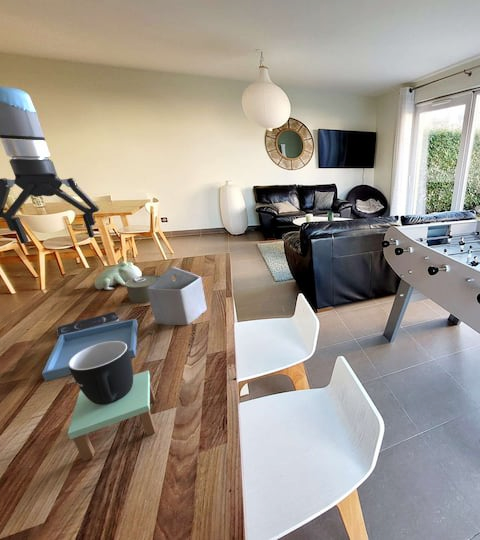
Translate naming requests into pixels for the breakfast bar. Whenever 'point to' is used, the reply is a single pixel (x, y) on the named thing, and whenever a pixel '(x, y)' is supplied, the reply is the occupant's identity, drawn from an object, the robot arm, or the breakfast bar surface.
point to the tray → (88, 345)
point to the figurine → (117, 275)
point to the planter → (177, 297)
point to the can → (140, 288)
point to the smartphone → (88, 323)
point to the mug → (103, 371)
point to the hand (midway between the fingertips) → (60, 239)
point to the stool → (111, 413)
